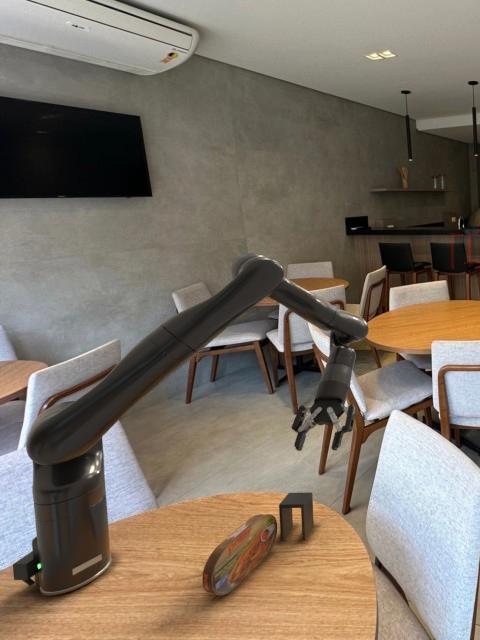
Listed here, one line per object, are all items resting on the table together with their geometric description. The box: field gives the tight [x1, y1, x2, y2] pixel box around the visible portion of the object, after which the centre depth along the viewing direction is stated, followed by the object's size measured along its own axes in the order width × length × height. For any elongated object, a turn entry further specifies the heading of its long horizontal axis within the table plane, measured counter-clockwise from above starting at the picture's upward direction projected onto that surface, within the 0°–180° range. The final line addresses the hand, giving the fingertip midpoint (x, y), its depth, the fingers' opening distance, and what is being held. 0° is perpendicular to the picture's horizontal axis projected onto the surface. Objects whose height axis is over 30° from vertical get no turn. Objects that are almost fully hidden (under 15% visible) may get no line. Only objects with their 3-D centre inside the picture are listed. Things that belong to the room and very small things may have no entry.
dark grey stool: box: [278, 491, 315, 542], centre depth 89 cm, size 5×4×8 cm
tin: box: [202, 513, 278, 596], centre depth 79 cm, size 15×3×8 cm, turn 168°
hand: (316, 449), depth 98 cm, fingers open, 8 cm apart
